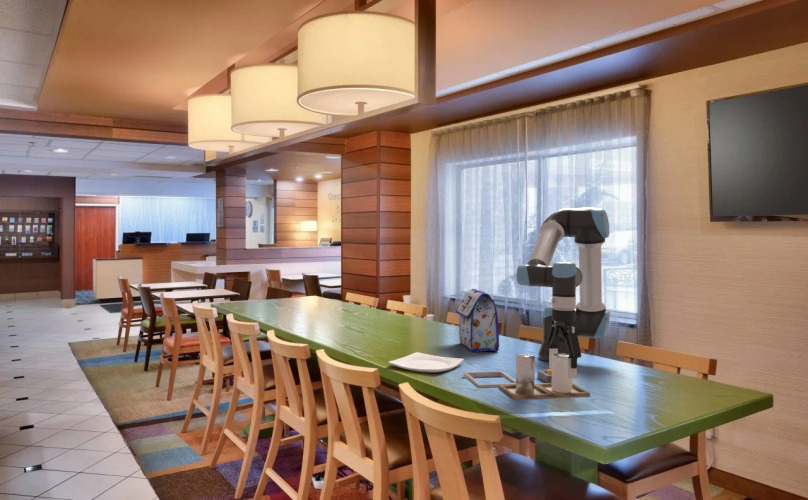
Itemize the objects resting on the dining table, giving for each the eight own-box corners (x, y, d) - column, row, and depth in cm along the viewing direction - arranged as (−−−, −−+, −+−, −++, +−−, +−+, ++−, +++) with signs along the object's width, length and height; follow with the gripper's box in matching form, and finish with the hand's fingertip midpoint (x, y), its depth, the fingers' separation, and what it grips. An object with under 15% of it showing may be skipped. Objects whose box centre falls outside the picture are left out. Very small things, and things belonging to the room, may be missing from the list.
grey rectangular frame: (502, 375, 210) (502, 370, 210) (520, 388, 192) (521, 383, 192) (463, 377, 207) (463, 372, 207) (478, 390, 190) (479, 385, 190)
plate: (439, 377, 207) (439, 370, 207) (383, 368, 220) (383, 361, 220) (467, 365, 228) (467, 358, 228) (415, 357, 241) (415, 351, 241)
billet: (529, 389, 188) (530, 353, 187) (537, 394, 182) (538, 357, 182) (512, 390, 187) (513, 354, 186) (519, 395, 181) (520, 358, 180)
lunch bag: (453, 343, 272) (454, 288, 272) (486, 342, 275) (487, 288, 274) (466, 353, 250) (467, 292, 249) (501, 352, 253) (503, 292, 252)
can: (572, 394, 183) (573, 357, 183) (551, 392, 184) (552, 356, 184) (570, 389, 189) (571, 353, 189) (551, 387, 191) (551, 352, 190)
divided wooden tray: (570, 388, 194) (570, 382, 194) (589, 398, 182) (589, 392, 181) (498, 390, 189) (499, 385, 189) (513, 402, 177) (513, 395, 177)
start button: (555, 379, 203) (555, 368, 203) (560, 382, 199) (560, 371, 199) (545, 380, 203) (545, 368, 203) (549, 382, 199) (550, 371, 199)
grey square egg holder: (558, 379, 206) (558, 369, 206) (568, 385, 198) (568, 375, 198) (537, 380, 204) (537, 370, 204) (547, 386, 196) (547, 376, 196)
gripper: (537, 304, 198) (536, 363, 198) (571, 314, 173) (569, 383, 174) (557, 303, 199) (555, 363, 200) (593, 314, 174) (592, 382, 175)
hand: (562, 372), depth 187 cm, fingers open, 13 cm apart
